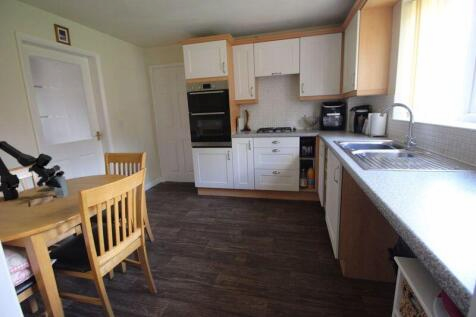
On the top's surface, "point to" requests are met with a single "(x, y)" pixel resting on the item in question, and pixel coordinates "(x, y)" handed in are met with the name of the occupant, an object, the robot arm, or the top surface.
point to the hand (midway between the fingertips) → (62, 186)
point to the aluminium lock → (61, 187)
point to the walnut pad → (41, 201)
